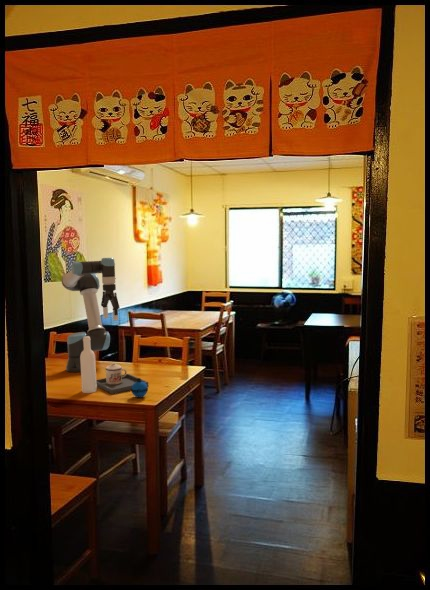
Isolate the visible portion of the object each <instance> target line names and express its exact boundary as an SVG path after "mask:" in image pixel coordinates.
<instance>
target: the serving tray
mask: <svg viewBox="0 0 430 590" xmlns="http://www.w3.org/2000/svg"><path fill="white" fill-rule="evenodd" d="M122 376H124V374H122ZM138 378H139V377H137V376H135V375H133V374H130V373H126V376H125V377H123V378H122V382H121V383H120V384H116V385H110V384H107V383H106V378H98V379H96V384H97V388H99V389H101V390H103V391H105V392H107V393H109V394H110V395H115V393H116V394H119V393H120V392H121V393H124V392H130V391H131V387H132V385H133V384H134V383H135V382H137V381H138V380H137V379H138ZM140 379H141V378H140ZM141 381H143V382H144V383H146V385H147V387H148V388H149V381H146V380H145V379H141ZM121 393H120V394H121Z"/></svg>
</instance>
